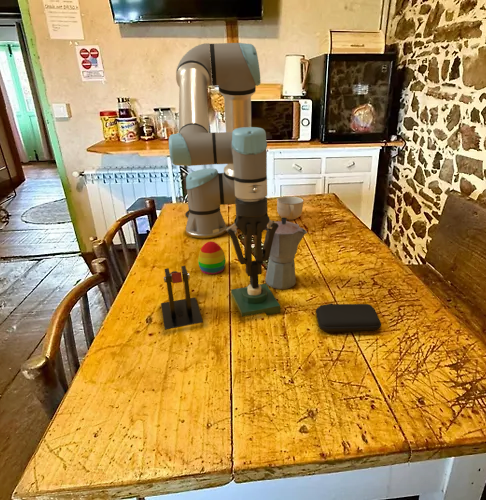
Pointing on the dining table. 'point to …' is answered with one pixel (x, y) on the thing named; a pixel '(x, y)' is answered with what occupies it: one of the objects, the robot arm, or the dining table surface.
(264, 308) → the control block
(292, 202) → the teacup
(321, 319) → the carrying case
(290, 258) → the moka pot
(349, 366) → the dining table surface
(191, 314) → the switch bracket
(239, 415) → the dining table surface
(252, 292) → the button
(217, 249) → the decorative egg
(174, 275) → the switch lever
